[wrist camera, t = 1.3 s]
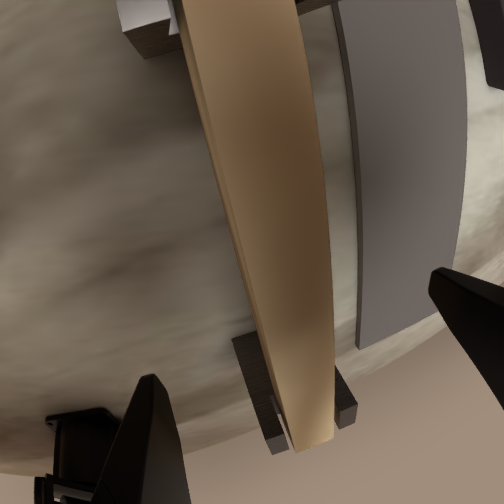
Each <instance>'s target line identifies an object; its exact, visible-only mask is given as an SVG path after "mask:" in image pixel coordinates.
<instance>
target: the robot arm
mask: <svg viewBox="0 0 504 504" xmlns="http://www.w3.org/2000/svg"><path fill="white" fill-rule="evenodd" d="M428 294H429V296H430V298H431V300H432V301H433V303H434V304H435V306H436V308H437V309H438V311H439V312H440V314H441V316H442V317H443V319H444V321H445V322H446V324H447V326H448V327H449V329H450V331H451V332H452V333H453V335H454V336H455V338H456V339H457V340H458V342H459V343H460V345H461V346H462V347H463V349H464V350H465V352H466V353H467V354H468V356H469V357H470V359H471V360H472V362H473V363H474V365H475V366H476V368H477V369H478V371H479V372H480V374H481V375H482V376H483V378H484V380H485V381H486V383H487V384H488V386H489V387H490V389H491V390H492V392H493V394H494V395H495V397H496V398H497V400H498V401H499V403H500V405H501V406H502V408H503V410H504V287H501V286H498V285H495V284H493V283H490V282H487V281H484V280H481V279H478V278H475V277H472V276H469V275H466V274H463V273H460V272H457V271H454V270H451V269H448V268H445V267H439V268H437V269H435V270H433V271H432V272H431V275H430V281H429V286H428ZM45 424H46V425H47V426H48V427H50V428H51V429H52V430H53V431H55V432H56V435H55V447H54V463H53V475H51V474H47V473H46V475H45V477H35V478H34V504H191V499H190V494H189V489H188V484H187V479H186V473H185V467H184V461H183V455H182V449H181V443H180V438H179V434H178V431H177V427H176V423H175V419H174V416H173V412H172V408H171V404H170V400H169V396H168V393H167V390H166V388H165V387H164V386H163V384H162V383H161V381H160V380H159V379H158V377H157V376H156V375H155V374H148V375H145V376H142V377H141V378H140V379H139V382H138V384H137V386H136V389H135V391H134V393H133V396H132V398H131V401H130V403H129V405H128V408H127V410H126V413H125V415H124V417H123V420H122V422H121V424H120V423H119V422H118V421H117V420H116V419H115V418H114V417H113V416H112V415H111V414H110V413H109V412H108V411H107V410H105V409H96V410H90V411H85V412H79V413H73V414H66V415H60V416H53V417H47V418H45ZM54 498H58V499H60V502H57V501H54Z"/></svg>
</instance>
